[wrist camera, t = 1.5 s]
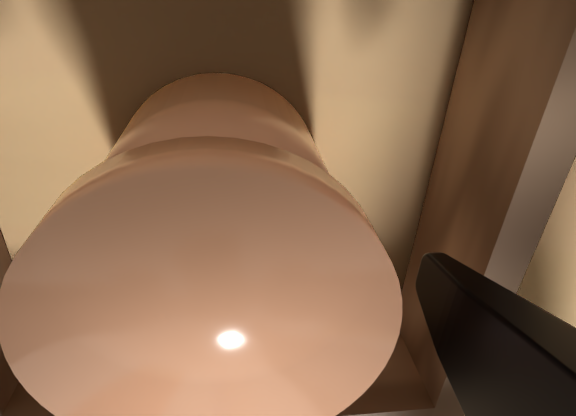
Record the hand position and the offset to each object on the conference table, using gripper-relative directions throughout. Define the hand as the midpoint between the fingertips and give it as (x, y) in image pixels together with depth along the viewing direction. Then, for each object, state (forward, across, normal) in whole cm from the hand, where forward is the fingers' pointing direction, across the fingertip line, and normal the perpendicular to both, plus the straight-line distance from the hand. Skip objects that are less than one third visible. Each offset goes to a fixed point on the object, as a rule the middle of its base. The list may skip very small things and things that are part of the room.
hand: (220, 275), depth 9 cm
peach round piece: (+5, 0, 0) cm, 5 cm away
